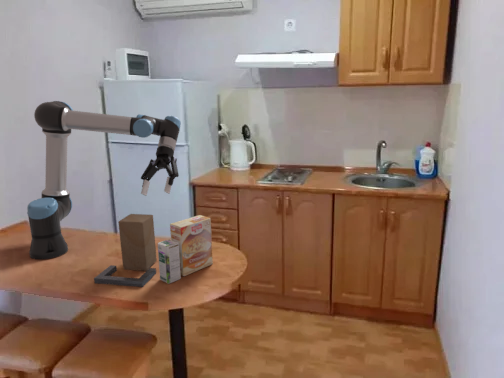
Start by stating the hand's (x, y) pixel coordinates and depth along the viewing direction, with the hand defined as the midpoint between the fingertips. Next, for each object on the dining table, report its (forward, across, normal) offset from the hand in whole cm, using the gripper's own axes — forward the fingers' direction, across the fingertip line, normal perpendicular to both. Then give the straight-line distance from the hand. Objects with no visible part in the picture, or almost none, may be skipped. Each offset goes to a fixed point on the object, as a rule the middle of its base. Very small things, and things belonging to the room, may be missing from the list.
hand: (154, 193), depth 178 cm
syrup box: (+36, -19, 0) cm, 40 cm away
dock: (+37, -4, +7) cm, 38 cm away
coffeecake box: (+29, -20, -10) cm, 37 cm away
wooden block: (+31, 0, -2) cm, 31 cm away
